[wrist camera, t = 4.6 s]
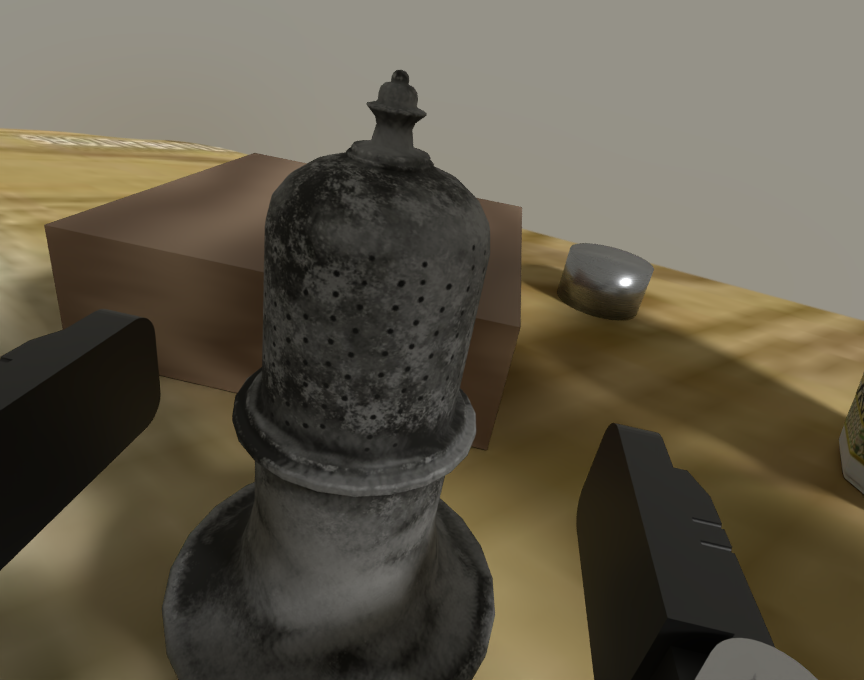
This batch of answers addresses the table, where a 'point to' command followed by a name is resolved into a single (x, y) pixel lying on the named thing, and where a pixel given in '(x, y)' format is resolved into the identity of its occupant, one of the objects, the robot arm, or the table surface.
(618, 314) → the grey metal puck
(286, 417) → the salt shaker
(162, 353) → the walnut stand
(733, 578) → the robot arm
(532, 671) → the table surface
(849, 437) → the ceramic cup
